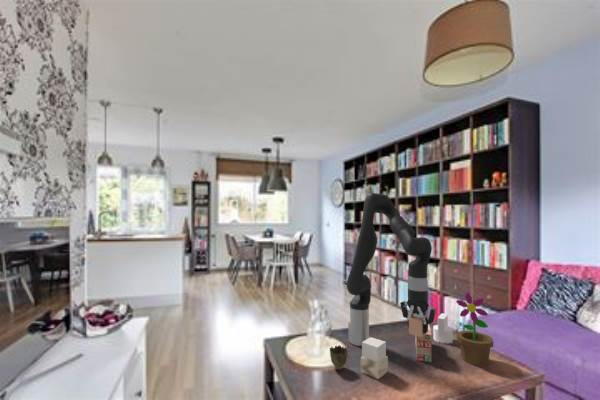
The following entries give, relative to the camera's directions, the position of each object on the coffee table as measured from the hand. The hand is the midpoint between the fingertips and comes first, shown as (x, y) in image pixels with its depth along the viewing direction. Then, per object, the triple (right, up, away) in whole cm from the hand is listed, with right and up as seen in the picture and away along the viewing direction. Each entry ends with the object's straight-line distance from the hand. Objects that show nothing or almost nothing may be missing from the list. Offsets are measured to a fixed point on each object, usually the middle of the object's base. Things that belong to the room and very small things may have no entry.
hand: (417, 330), depth 125 cm
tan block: (0, -1, 0) cm, 1 cm away
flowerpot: (+30, -19, +14) cm, 38 cm away
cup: (-30, -19, +6) cm, 36 cm away
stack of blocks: (+11, -19, +23) cm, 32 cm away
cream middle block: (-16, -12, +4) cm, 21 cm away
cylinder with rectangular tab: (+26, -19, +35) cm, 48 cm away
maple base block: (-16, -18, +4) cm, 25 cm away
